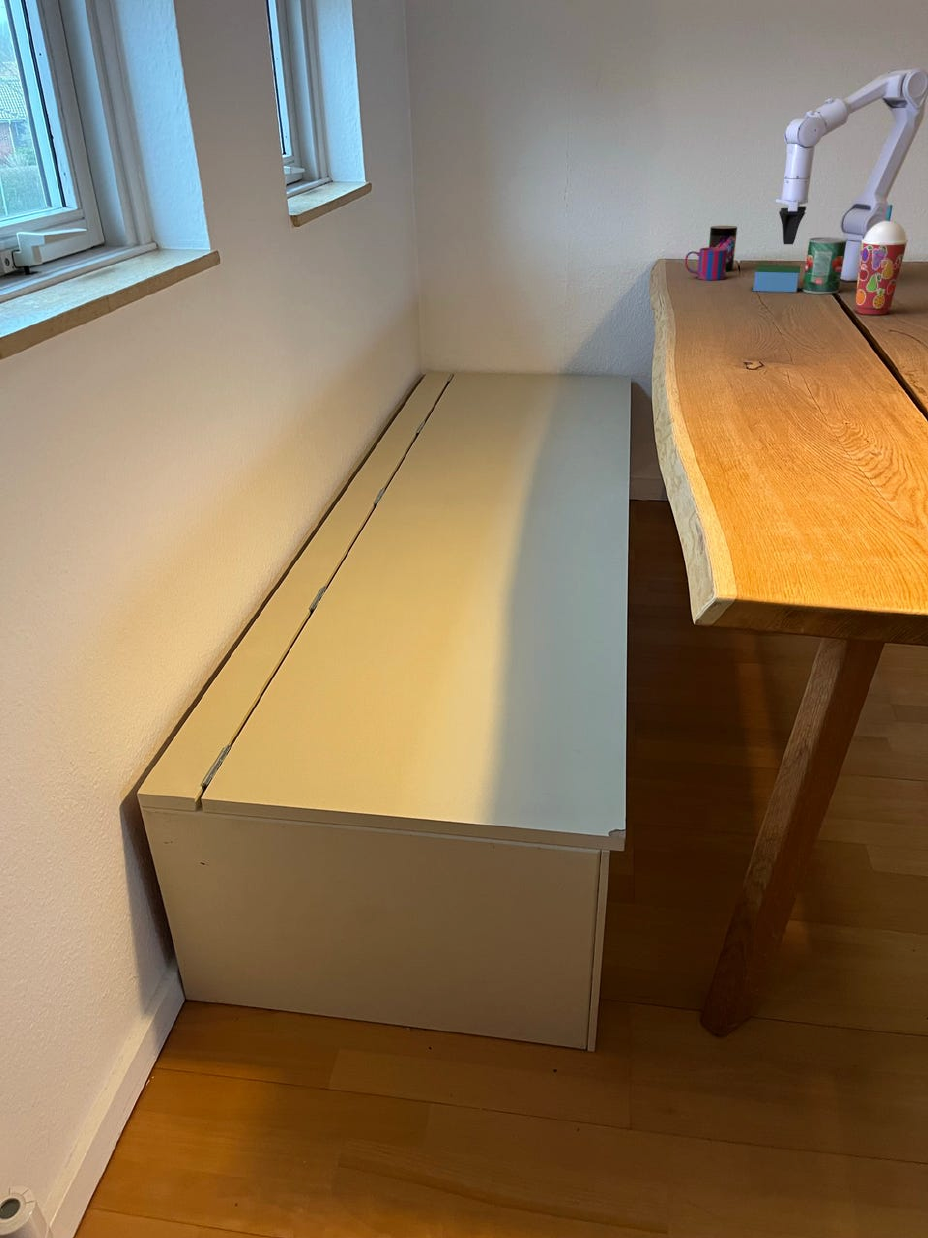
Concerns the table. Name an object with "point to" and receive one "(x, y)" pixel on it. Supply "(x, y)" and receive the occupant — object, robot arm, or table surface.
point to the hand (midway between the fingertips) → (788, 241)
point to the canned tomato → (824, 265)
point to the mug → (710, 263)
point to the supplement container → (724, 241)
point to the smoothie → (880, 266)
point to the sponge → (776, 278)
